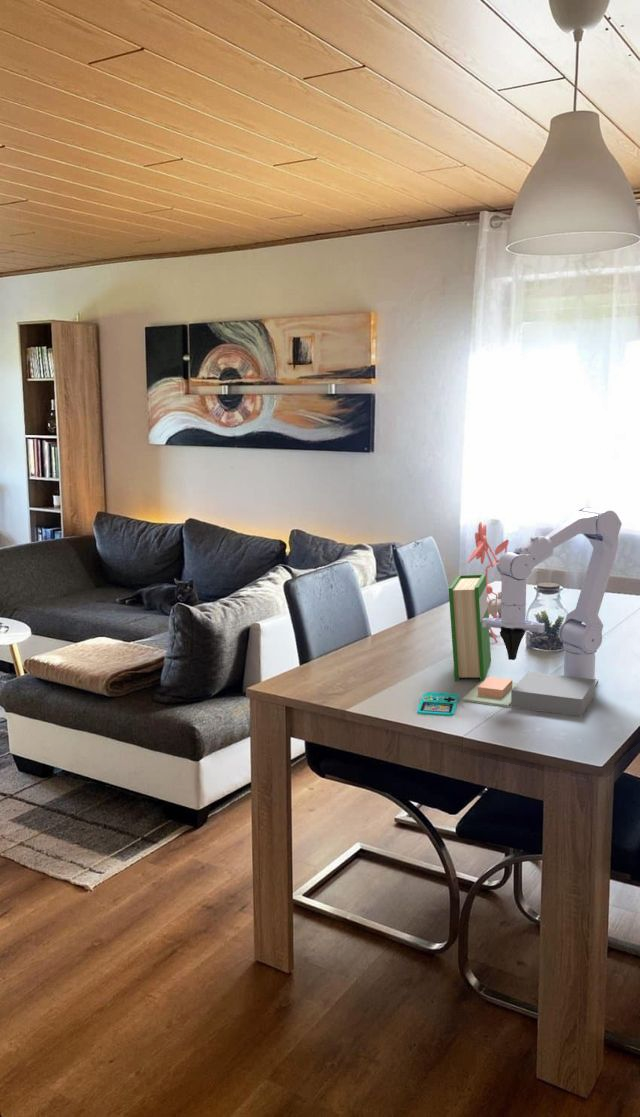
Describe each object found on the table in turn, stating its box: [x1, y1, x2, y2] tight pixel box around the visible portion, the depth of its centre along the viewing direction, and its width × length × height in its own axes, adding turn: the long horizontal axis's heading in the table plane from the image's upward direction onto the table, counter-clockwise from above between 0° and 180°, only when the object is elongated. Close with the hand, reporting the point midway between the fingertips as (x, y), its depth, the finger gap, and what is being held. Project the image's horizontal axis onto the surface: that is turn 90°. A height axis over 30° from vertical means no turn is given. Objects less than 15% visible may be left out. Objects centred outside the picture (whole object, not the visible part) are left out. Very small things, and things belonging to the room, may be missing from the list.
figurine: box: [467, 521, 510, 643], centre depth 266 cm, size 15×26×35 cm, turn 155°
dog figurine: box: [487, 591, 501, 618], centre depth 289 cm, size 5×13×11 cm, turn 127°
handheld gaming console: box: [416, 691, 459, 717], centre depth 210 cm, size 8×1×15 cm
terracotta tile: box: [478, 676, 513, 698], centre depth 217 cm, size 9×6×2 cm, turn 153°
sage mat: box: [462, 678, 518, 708], centre depth 217 cm, size 17×11×1 cm, turn 153°
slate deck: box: [510, 671, 596, 717], centre depth 210 cm, size 16×16×4 cm
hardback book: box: [448, 573, 492, 682], centre depth 232 cm, size 18×7×24 cm, turn 164°
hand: (512, 658), depth 213 cm, fingers closed
